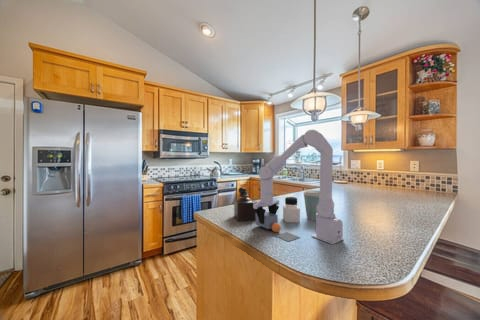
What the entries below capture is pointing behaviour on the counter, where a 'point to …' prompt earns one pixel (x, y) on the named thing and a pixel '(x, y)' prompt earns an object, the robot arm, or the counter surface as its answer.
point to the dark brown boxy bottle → (244, 207)
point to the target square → (287, 236)
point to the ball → (276, 227)
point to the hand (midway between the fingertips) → (266, 221)
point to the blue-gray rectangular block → (267, 220)
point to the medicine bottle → (291, 210)
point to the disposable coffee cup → (311, 203)
